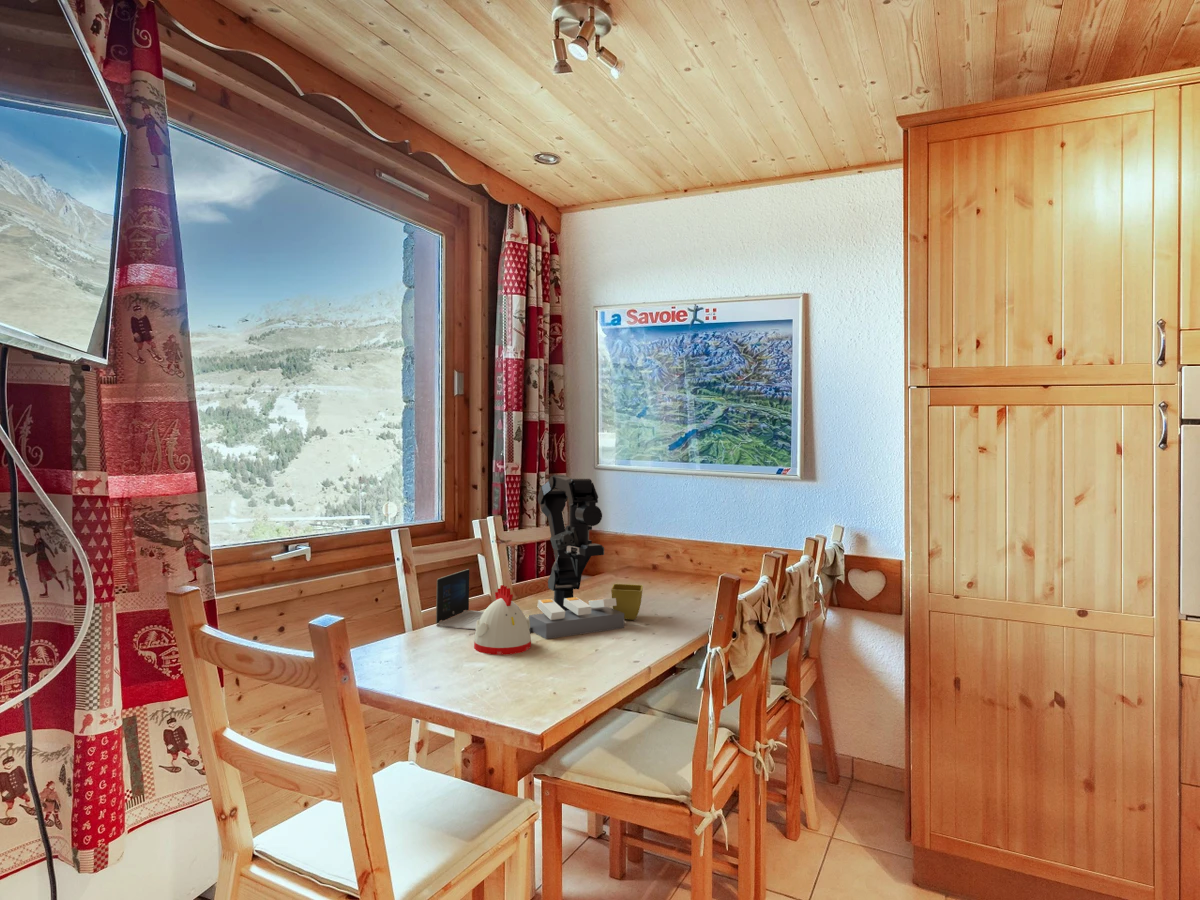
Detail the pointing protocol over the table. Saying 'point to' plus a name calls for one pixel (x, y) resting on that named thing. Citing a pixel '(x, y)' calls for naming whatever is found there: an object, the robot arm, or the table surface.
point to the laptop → (455, 602)
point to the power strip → (576, 623)
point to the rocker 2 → (577, 606)
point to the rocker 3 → (602, 602)
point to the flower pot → (627, 599)
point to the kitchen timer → (502, 627)
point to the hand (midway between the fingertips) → (578, 576)
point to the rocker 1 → (551, 609)
